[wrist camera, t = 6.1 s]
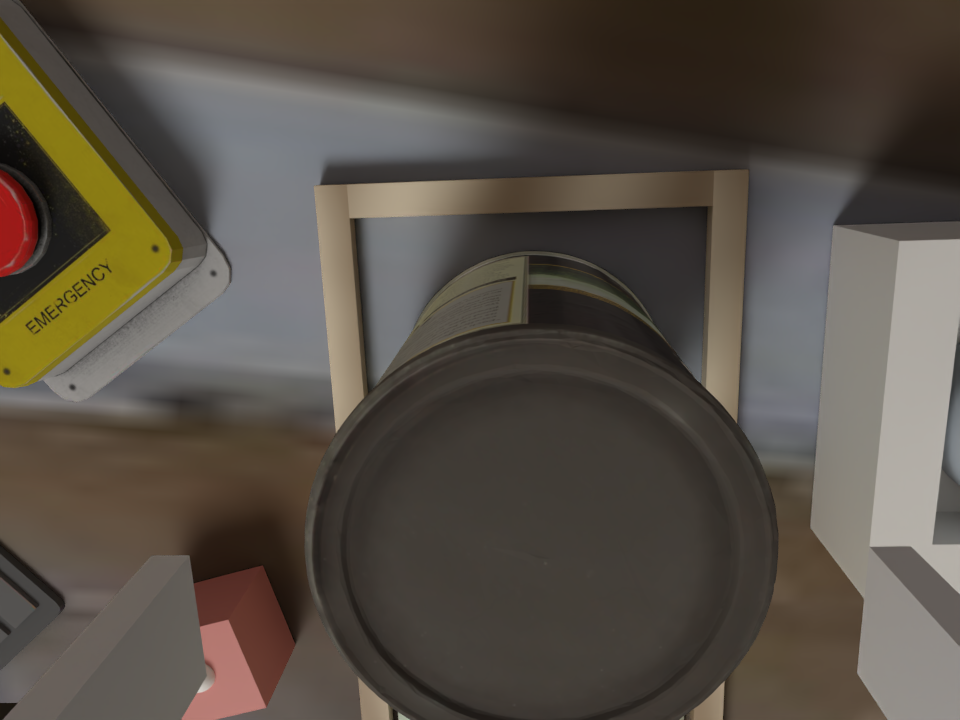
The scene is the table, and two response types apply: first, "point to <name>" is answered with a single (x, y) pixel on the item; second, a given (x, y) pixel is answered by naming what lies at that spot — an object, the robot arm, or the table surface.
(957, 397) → the dome
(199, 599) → the red die
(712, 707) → the frame
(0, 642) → the calculator
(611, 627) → the coffee can
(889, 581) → the robot arm
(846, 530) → the dome base
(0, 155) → the emergency button
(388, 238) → the table surface
